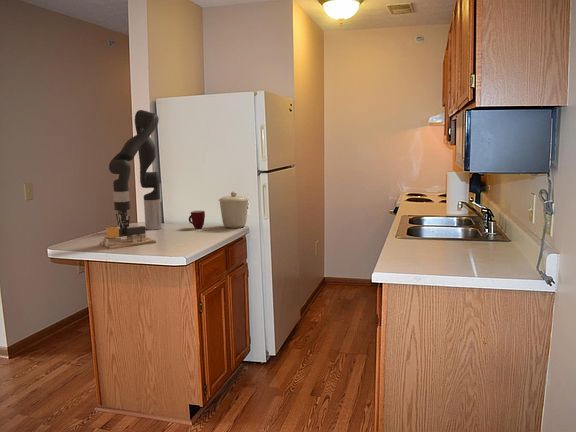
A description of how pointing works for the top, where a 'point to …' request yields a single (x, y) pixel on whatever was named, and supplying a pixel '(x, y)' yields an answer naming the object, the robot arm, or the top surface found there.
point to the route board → (126, 241)
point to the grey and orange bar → (116, 232)
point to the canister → (234, 210)
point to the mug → (197, 219)
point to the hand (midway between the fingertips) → (123, 234)
